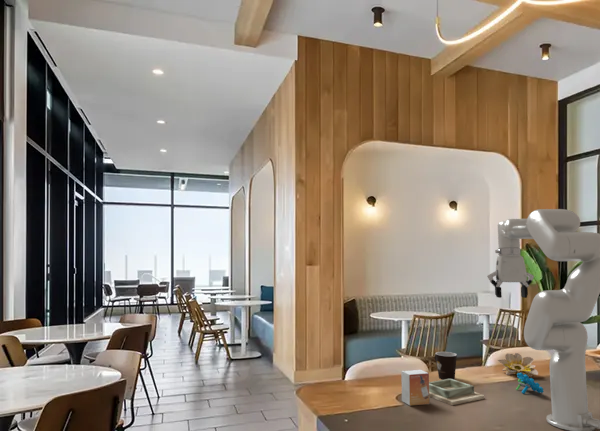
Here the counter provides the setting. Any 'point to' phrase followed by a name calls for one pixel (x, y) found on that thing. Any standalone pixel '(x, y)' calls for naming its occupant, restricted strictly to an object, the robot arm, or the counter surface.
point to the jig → (453, 392)
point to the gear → (528, 383)
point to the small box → (415, 387)
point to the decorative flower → (518, 365)
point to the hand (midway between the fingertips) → (511, 297)
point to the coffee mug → (446, 364)
